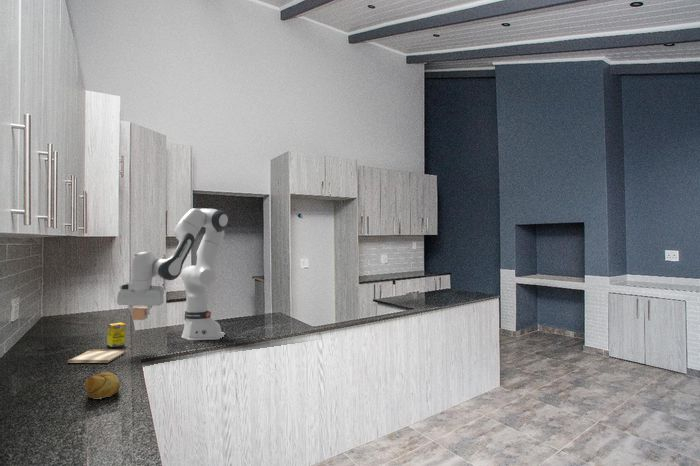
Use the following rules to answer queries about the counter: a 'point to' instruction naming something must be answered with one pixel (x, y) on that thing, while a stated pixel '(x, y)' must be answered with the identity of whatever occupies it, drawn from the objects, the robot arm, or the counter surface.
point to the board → (97, 356)
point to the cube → (139, 313)
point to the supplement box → (116, 335)
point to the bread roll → (102, 385)
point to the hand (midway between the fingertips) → (140, 314)
